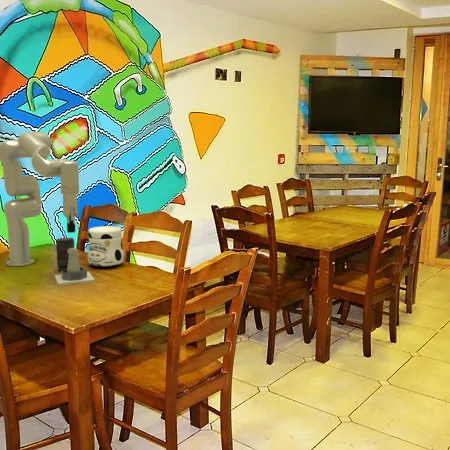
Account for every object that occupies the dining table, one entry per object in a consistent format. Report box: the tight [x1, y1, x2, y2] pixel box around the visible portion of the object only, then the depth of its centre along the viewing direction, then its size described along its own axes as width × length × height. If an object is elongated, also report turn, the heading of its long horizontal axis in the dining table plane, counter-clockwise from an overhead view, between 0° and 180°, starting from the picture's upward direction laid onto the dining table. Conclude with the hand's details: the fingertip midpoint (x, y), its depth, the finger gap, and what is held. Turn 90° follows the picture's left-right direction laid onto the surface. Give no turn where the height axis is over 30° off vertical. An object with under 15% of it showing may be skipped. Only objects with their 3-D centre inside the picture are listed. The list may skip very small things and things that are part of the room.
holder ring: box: [60, 266, 88, 281], centre depth 241 cm, size 10×10×4 cm
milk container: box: [87, 225, 125, 269], centre depth 265 cm, size 17×17×18 cm
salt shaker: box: [67, 247, 81, 272], centre depth 240 cm, size 6×6×13 cm
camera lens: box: [55, 237, 75, 273], centre depth 256 cm, size 8×8×15 cm
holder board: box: [54, 271, 95, 286], centre depth 241 cm, size 14×15×1 cm
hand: (71, 232), depth 238 cm, fingers closed
